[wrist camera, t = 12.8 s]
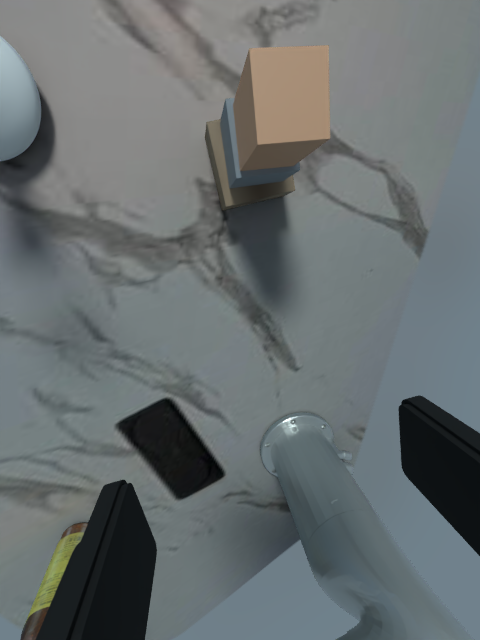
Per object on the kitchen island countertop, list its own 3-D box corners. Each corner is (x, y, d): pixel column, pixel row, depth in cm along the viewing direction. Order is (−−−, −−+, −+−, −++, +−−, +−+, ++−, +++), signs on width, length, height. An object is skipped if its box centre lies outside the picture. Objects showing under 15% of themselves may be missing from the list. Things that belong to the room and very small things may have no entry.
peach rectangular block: (289, 101, 23) (328, 45, 17) (293, 166, 25) (330, 138, 18) (232, 104, 23) (249, 48, 16) (239, 171, 24) (257, 144, 17)
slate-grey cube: (277, 117, 28) (294, 92, 23) (282, 181, 30) (299, 169, 25) (219, 123, 27) (225, 98, 22) (229, 188, 29) (236, 178, 24)
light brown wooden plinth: (270, 124, 32) (282, 106, 28) (282, 196, 34) (295, 190, 30) (204, 138, 31) (206, 122, 27) (221, 210, 34) (226, 206, 29)
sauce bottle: (53, 537, 43) (-57, 772, 24) (81, 513, 42) (-9, 732, 23) (88, 555, 45) (11, 783, 26) (114, 531, 44) (56, 746, 25)
